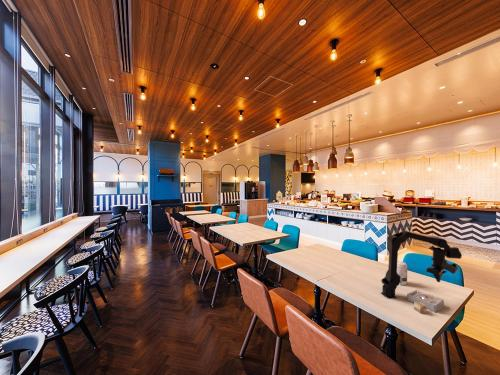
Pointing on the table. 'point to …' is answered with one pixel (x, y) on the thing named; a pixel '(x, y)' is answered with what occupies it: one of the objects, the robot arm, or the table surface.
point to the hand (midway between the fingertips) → (438, 281)
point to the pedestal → (420, 307)
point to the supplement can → (402, 272)
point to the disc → (426, 298)
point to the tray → (436, 299)
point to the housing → (425, 302)
